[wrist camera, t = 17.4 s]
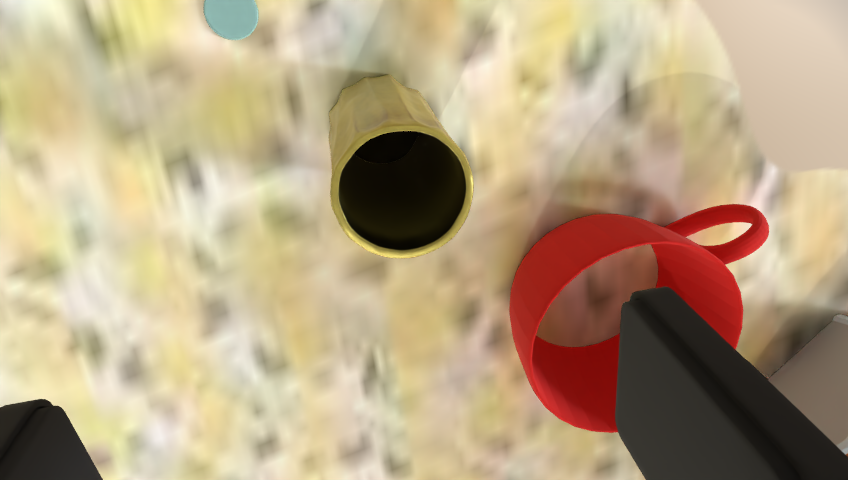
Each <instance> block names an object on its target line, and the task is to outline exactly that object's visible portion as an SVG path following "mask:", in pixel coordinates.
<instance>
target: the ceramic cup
mask: <svg viewBox="0 0 848 480" xmlns="http://www.w3.org/2000/svg"><path fill="white" fill-rule="evenodd" d="M732 222H746V223H751V224H752V226H751V227H750V228H749V229H748V230H747V231H746V232H745V233H744V234H742V235H741V236H739V237H738V238H736V239H734V240H732V241H730V242H727V243H725V244H721V245H715V246H702V245H698V244H696V243H695V242H693V241H691V240H689V239H687V238H685V237H687V236H689V235H691V234H694V233H696V232H698V231H701V230H703V229H706V228H709V227H712V226H715V225H719V224H724V223H732ZM768 234H769V225H768V223H767V220H766V218H765V217H764V215H763V214H762V213H761V212H760V211H759V210H757V209H756V208H753V207H751V206H747V205H740V204H729V205H720V206H715V207H711V208H707V209H704V210H701V211H698V212H696V213H693V214H691V215H688V216H686V217H684V218H682V219H679V220H677V221H675V222H673V223H671V224H669V225H667V226H665V227H661V226H659V225H656V224H654V223H652V222H649V221H646V220H643V219H640V218H635V217H630V216H624V215H618V214H597V215H590V216H585V217H581V218H577V219H574V220H572V221H569V222H567V223H565V224H562V225H560V226H558V227H557V228H555V229H554V230H552V231H551V232H549V233H547V234H546V235H545V236H544V237H543V238H541V239H540V240H539V241H538V242H537V243H536V244H535V245H534V246H533V247H532V248H531V250H530V251H529V252H528V253H527V255H526V256H525V257H524V258H523V260H522V262H521V264H520V266H519V268H518V270H517V272H516V275H515V278H514V281H513V284H512V288H511V296H510V320H511V327H512V334H513V339H514V342H515V346H516V349H517V352H518V355H519V357H520V360H521V363H522V365H523V368H524V370H525V373H526V375H527V378H528V380H529V383H530V385H531V387H532V389H533V391H534V392H535V394H536V395H537V396H538V398H539V399H540V401H541V402H542V403H543V405H544V406H545V407H546V408H547V409H548V410H549V411H550V412H552V413H553V414H554V415H555V416H557V417H558V418H559V419H561V420H563V421H565V422H567V423H569V424H571V425H573V426H575V427H578V428H582V429H586V430H589V431H596V432H609V433H613V432H618V430H617V426H616V422H615V408H616V391H617V374H618V357H619V341H620V333H619V334H618V335H616V336H614V337H612V338H610V339H608V340H606V341H603V342H600V343H598V344H594V345H589V346H585V347H564V346H558V345H555V344H551V343H548V342H546V341H544V340H543V339H541V338H539V337H538V336H536V333H537V330H538V327H539V324H540V322H541V320H542V318H543V317H544V315H545V313H546V311H547V309H548V308H549V306H550V304H551V303H552V302H553V300H554V299H555V298H556V297H557V295H558V294H559V293H560V292H561V291H562V289H563V288H564V287H565V286H566V285H567V284H568V283H569V282H571V281H572V280H573V279H574V278H575V277H576V276H577V275H578V274H580V273H581V272H582V271H583V270H585V269H586V268H588V267H590V266H591V265H593V264H595V263H596V262H598V261H599V260H601V259H603V258H605V257H607V256H610V255H612V254H615V253H617V252H619V251H622V250H624V249H629V248H633V247H637V246H641V245H646V244H651V246H652V248H653V250H654V252H655V254H656V258H657V263H658V281H657V285H656V288H659V287H664V286H666V287H670V288H671V289H672V290H674V291H675V292H676V293H677V294H678V295H679V296H680V297H681V298H682V299H683V300H684V301H685V302H686V303H687V304H688V305H689V306H690V307H691V308H692V309H693V310H694V311H695V312H696V313H698V314H699V315H700V316H701V317H702V318H703V319H704V320H705V321H706V322H707V323H708V324H709V325H710V326H711V327H712V328H713V329H714V330H715V331H716V332H717V333H718V334H719V335H720V336H721V337H722V338H723V339H725V340H726V341H727V342H728V343H729V344H730V345H731V346H732V347H733V348H734V349H736V347H737V344H738V340H739V337H740V333H741V330H742V320H743V305H742V299H741V292H740V290H739V287H738V285H737V283H736V280H735V278H734V276H733V274H732V273H731V272H730V271H729V269H728V268H727V267H726V266H725V264H728V263H731V262H734V261H736V260H739V259H741V258H744V257H746V256H748V255H750V254H751V253H753V252H754V251H756V250H757V249H758V248H759V247H761V246H762V245H763V243H764V242H765V241H766V239H767V237H768Z"/></svg>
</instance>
